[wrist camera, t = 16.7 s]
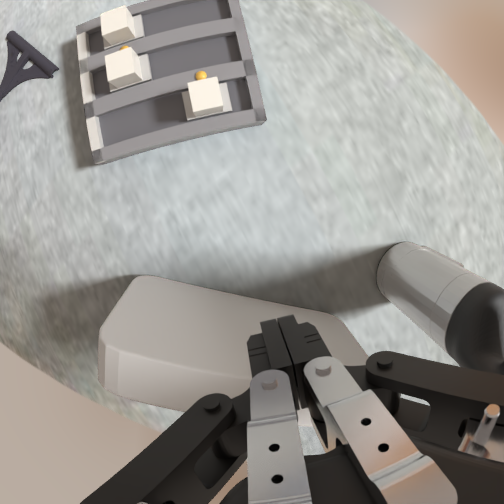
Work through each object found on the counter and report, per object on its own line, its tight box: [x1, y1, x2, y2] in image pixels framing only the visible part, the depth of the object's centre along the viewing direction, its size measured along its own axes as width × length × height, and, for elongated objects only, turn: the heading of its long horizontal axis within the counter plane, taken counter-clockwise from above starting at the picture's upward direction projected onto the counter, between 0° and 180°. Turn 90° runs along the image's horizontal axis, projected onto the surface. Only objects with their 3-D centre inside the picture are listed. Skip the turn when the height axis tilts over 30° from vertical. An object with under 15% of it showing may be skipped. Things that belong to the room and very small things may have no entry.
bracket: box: [0, 31, 59, 102], centre depth 30 cm, size 14×15×3 cm
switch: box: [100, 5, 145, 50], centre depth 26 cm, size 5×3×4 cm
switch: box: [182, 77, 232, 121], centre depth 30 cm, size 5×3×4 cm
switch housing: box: [76, 0, 267, 164], centre depth 31 cm, size 20×19×4 cm
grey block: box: [98, 275, 369, 427], centre depth 34 cm, size 29×8×18 cm, turn 75°
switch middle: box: [105, 47, 152, 93], centre depth 28 cm, size 5×3×4 cm
